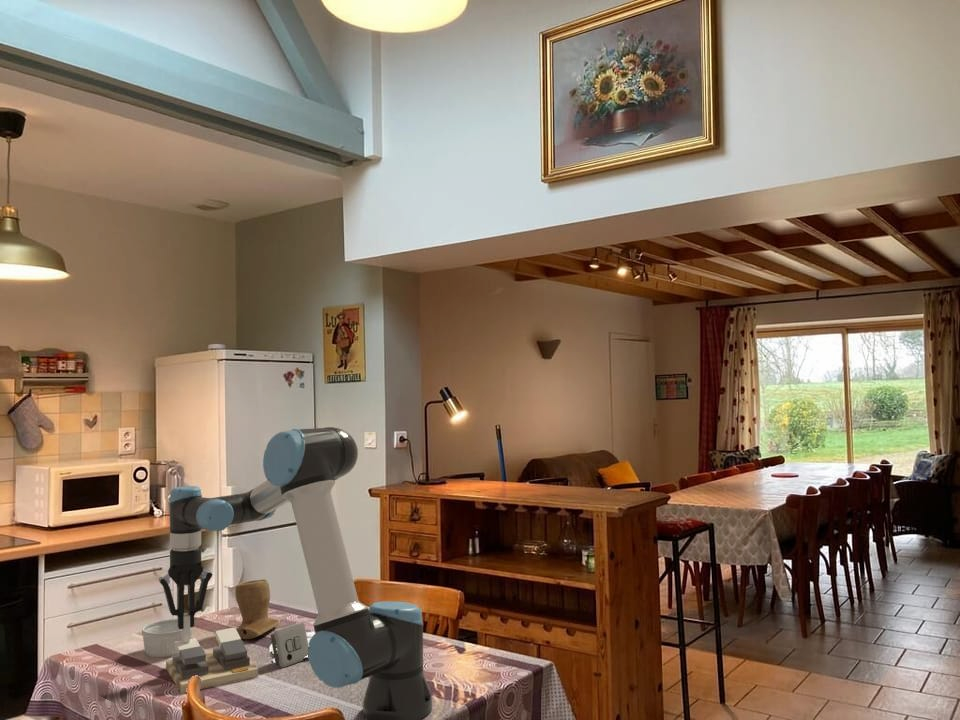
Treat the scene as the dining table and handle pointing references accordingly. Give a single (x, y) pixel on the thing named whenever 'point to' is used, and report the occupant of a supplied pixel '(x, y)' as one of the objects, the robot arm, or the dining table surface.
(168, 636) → the ramekin
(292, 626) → the electrical switch
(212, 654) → the switch board
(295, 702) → the dining table surface
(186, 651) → the rocker
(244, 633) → the tan piece
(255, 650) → the dining table surface
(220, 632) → the rocker
